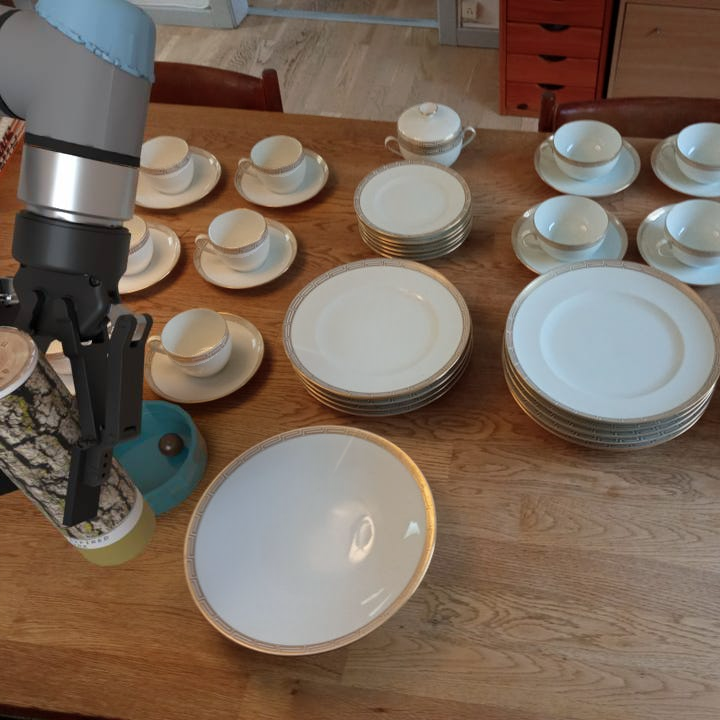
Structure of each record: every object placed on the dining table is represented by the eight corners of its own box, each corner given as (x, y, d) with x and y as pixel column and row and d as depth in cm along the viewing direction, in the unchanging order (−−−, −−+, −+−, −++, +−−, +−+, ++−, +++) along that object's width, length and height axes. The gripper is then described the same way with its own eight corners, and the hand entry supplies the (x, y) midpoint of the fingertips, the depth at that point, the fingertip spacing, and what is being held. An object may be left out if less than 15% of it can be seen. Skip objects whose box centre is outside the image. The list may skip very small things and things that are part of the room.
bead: (178, 458, 93) (153, 454, 91) (183, 434, 94) (158, 430, 92) (183, 459, 91) (157, 455, 89) (188, 435, 91) (163, 431, 90)
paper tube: (152, 564, 66) (20, 397, 47) (75, 574, 66) (-92, 408, 47) (163, 498, 71) (46, 321, 52) (90, 507, 70) (-56, 331, 51)
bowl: (67, 499, 90) (49, 482, 86) (136, 407, 98) (123, 388, 94) (166, 534, 87) (151, 518, 83) (229, 436, 95) (218, 417, 91)
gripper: (222, 246, 55) (178, 527, 59) (12, 194, 59) (-17, 459, 63) (156, 242, 48) (110, 562, 52) (-79, 183, 52) (-105, 483, 56)
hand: (40, 505), depth 58 cm, fingers closed on paper tube, 7 cm apart
